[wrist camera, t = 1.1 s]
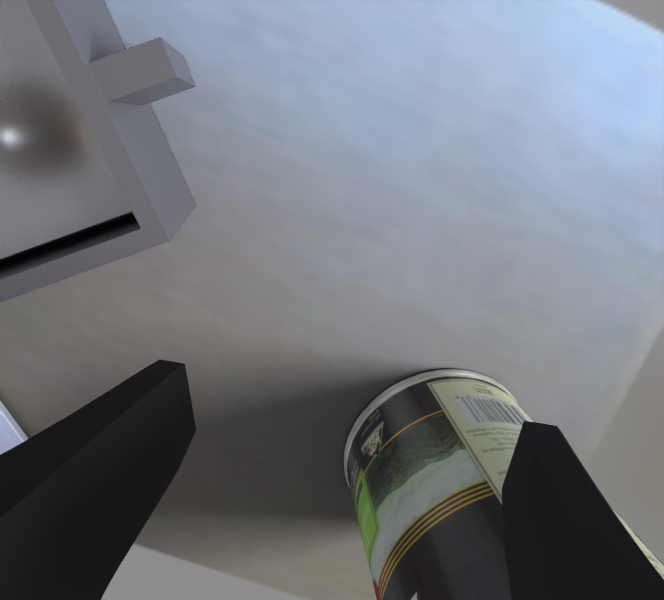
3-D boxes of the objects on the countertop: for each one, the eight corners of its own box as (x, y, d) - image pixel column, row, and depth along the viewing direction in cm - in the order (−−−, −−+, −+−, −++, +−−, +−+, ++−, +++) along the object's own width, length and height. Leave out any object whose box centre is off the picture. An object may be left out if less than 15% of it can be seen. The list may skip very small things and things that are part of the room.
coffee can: (357, 540, 27) (444, 923, 14) (327, 391, 24) (409, 729, 10) (526, 499, 28) (755, 829, 15) (523, 348, 24) (829, 615, 11)
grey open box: (-10, 280, 19) (-119, 345, 14) (-166, 45, 16) (-395, 6, 10) (241, 189, 19) (233, 217, 14) (139, -64, 16) (74, -161, 11)
